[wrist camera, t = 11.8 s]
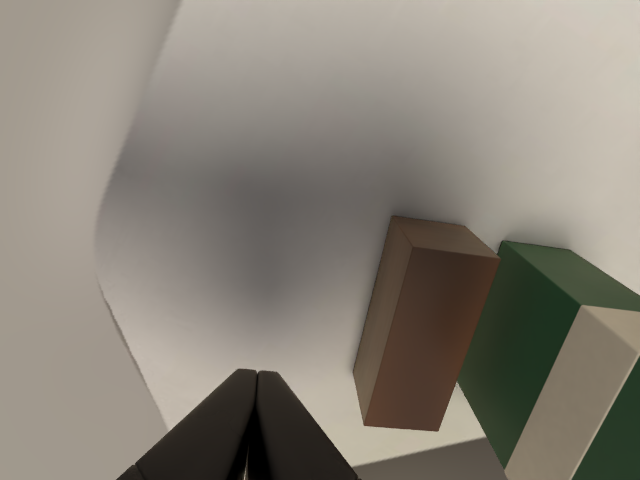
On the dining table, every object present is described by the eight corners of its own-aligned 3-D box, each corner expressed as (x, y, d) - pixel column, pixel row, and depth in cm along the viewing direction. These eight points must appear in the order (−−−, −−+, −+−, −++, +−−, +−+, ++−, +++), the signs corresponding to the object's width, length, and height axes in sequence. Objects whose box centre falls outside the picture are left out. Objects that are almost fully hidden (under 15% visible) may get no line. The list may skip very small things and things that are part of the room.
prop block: (352, 373, 25) (363, 426, 21) (391, 215, 21) (412, 246, 18) (417, 378, 25) (438, 432, 22) (465, 225, 22) (501, 258, 18)
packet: (452, 376, 26) (597, 650, 14) (501, 239, 22) (751, 443, 10) (514, 381, 26) (706, 650, 14) (572, 249, 23) (887, 454, 11)
